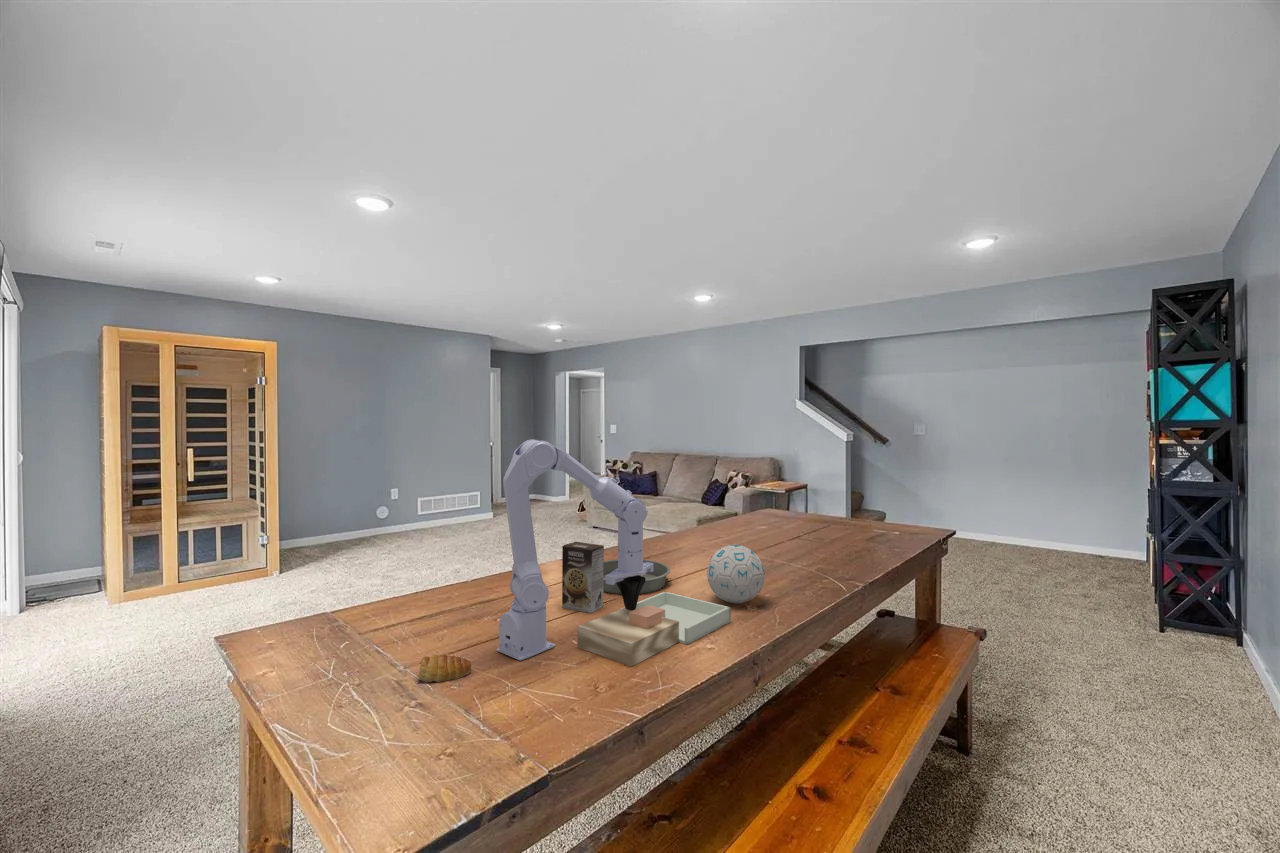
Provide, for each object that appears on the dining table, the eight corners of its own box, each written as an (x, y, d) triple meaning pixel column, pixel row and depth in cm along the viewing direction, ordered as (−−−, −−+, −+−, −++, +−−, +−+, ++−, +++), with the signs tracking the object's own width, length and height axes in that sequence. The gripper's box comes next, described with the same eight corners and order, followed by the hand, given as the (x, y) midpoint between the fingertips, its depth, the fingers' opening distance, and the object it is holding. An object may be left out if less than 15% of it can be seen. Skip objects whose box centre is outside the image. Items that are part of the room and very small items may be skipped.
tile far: (665, 609, 137) (665, 620, 137) (648, 605, 140) (648, 615, 140) (652, 615, 133) (652, 625, 133) (635, 610, 136) (635, 621, 137)
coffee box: (560, 608, 148) (560, 545, 147) (575, 601, 153) (575, 540, 153) (591, 613, 143) (591, 549, 143) (604, 606, 149) (604, 544, 149)
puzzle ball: (775, 607, 149) (776, 549, 148) (724, 614, 143) (725, 554, 143) (744, 590, 163) (744, 537, 163) (696, 596, 157) (697, 541, 157)
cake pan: (575, 578, 176) (575, 563, 176) (648, 569, 186) (648, 555, 186) (604, 601, 154) (604, 584, 154) (685, 590, 164) (685, 574, 164)
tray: (687, 644, 124) (687, 628, 124) (619, 623, 136) (619, 609, 136) (730, 621, 138) (730, 607, 138) (665, 604, 150) (665, 591, 150)
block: (631, 666, 113) (631, 643, 113) (577, 647, 123) (577, 626, 122) (678, 642, 125) (678, 621, 125) (626, 626, 135) (626, 607, 135)
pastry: (471, 665, 114) (471, 646, 114) (470, 681, 107) (470, 660, 107) (421, 670, 112) (421, 651, 112) (417, 686, 105) (417, 666, 105)
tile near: (647, 629, 121) (647, 617, 121) (628, 623, 124) (628, 612, 124) (661, 622, 125) (661, 611, 125) (643, 617, 128) (643, 606, 128)
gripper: (622, 558, 123) (622, 621, 123) (663, 546, 134) (663, 604, 134) (598, 553, 127) (598, 614, 127) (640, 542, 138) (640, 598, 139)
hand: (630, 609), depth 131 cm, fingers closed
